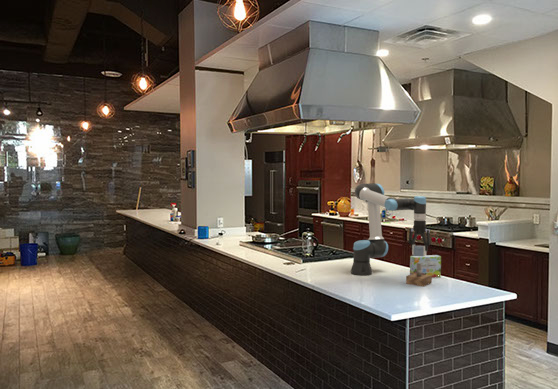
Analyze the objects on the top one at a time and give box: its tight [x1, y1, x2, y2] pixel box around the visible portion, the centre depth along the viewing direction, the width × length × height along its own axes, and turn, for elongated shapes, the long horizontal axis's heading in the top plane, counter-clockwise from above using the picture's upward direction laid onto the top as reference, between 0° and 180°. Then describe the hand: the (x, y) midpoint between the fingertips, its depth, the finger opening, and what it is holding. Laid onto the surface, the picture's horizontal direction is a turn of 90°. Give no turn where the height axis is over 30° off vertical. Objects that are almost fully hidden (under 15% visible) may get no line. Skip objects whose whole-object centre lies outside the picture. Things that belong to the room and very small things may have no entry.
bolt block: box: [405, 263, 433, 287], centre depth 316 cm, size 12×12×13 cm
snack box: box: [409, 254, 442, 279], centre depth 336 cm, size 21×6×15 cm, turn 105°
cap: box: [412, 245, 424, 256], centre depth 316 cm, size 7×7×6 cm
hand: (419, 255), depth 316 cm, fingers closed on cap, 7 cm apart
